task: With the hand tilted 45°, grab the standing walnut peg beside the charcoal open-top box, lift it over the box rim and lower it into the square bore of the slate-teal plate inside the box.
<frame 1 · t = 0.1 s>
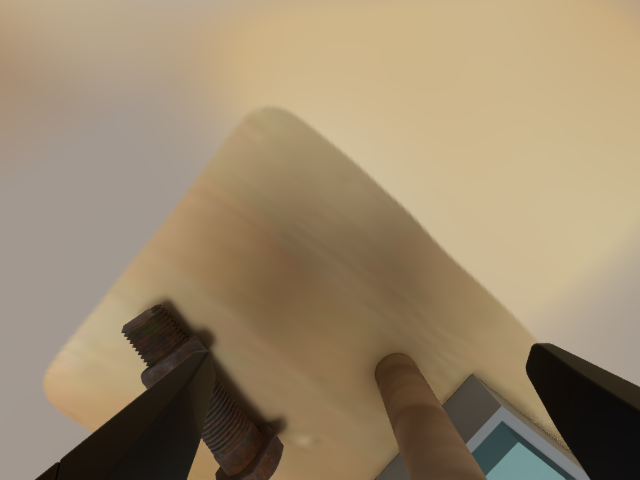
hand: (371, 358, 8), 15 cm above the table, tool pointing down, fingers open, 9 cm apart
peg: (396, 373, 25), on the table
bolt: (212, 374, 25), on the table
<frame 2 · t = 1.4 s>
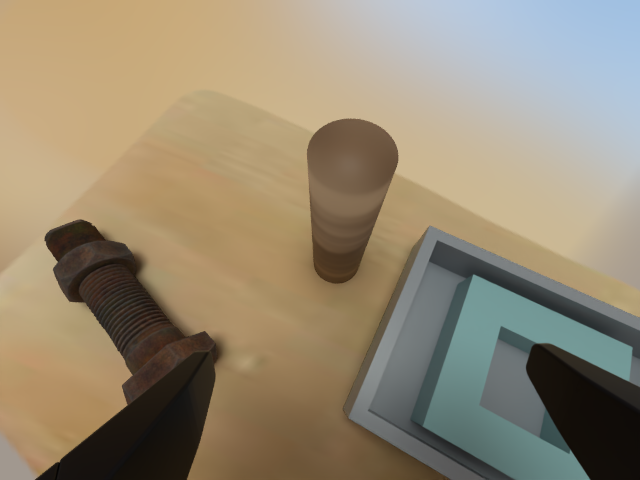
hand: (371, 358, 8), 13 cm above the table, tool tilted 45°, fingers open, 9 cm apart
peg: (336, 261, 24), on the table
bolt: (141, 306, 23), on the table
rim box: (503, 382, 20), on the table
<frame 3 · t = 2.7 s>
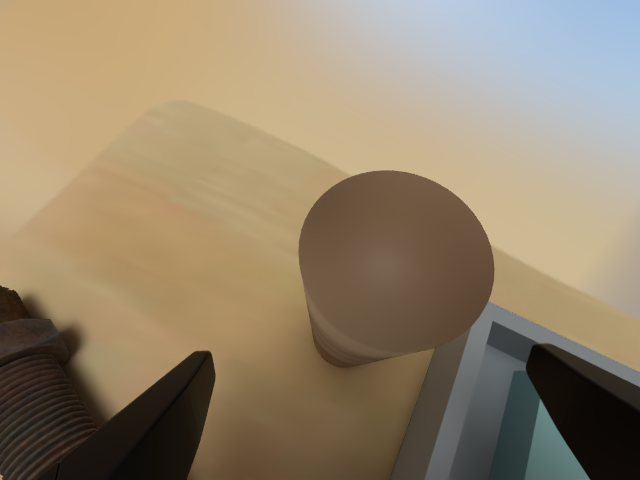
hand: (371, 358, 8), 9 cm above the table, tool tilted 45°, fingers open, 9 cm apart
peg: (344, 333, 17), on the table
bolt: (75, 404, 16), on the table
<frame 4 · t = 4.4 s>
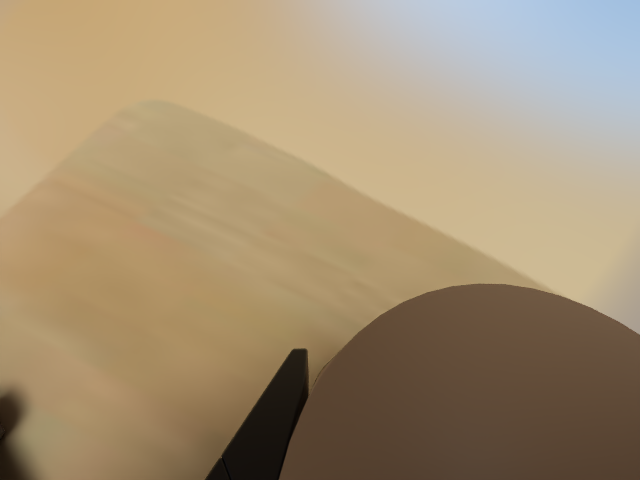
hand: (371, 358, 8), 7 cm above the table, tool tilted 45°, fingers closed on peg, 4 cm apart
peg: (351, 396, 14), on the table, touching gripper
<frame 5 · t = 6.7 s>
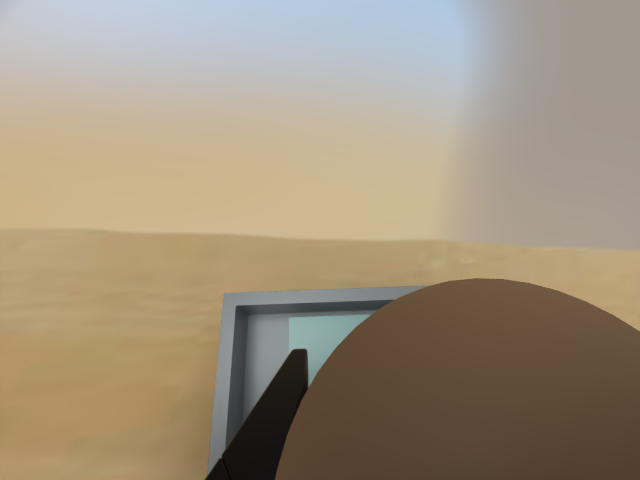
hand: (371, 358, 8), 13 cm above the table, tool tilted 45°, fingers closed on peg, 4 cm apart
peg: (351, 395, 14), point 7 cm above the table, touching gripper
rim box: (367, 397, 20), on the table
when the fingers open (8 cm above the table, at t = 9.0 s): peg stays where it is, resting on rim box.
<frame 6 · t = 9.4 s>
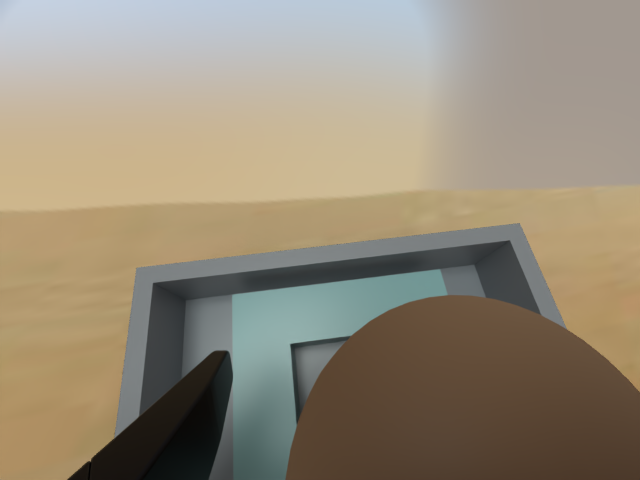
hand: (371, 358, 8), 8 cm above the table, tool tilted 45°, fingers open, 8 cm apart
peg: (350, 395, 14), point 1 cm above the table, touching rim box
rim box: (349, 394, 15), on the table
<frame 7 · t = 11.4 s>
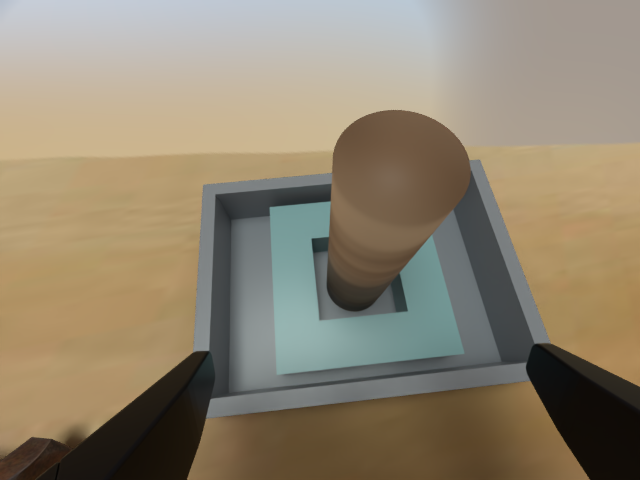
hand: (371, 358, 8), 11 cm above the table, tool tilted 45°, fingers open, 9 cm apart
peg: (353, 284, 20), point 1 cm above the table, touching rim box
rim box: (352, 285, 20), on the table
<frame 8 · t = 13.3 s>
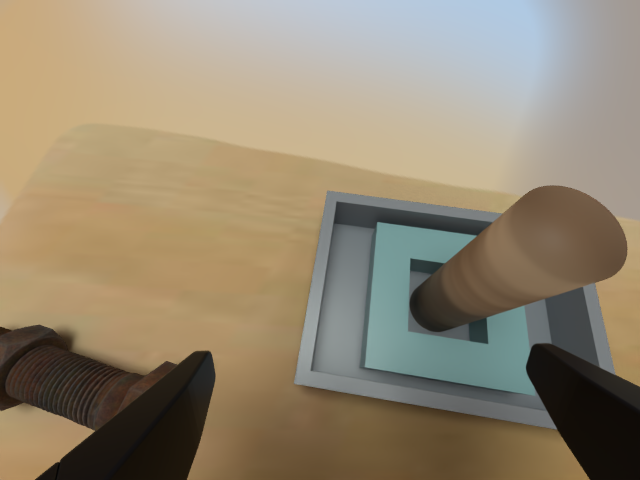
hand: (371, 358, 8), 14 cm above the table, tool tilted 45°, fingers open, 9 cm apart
peg: (433, 306, 22), point 1 cm above the table, touching rim box
bolt: (90, 377, 21), on the table
rim box: (431, 307, 22), on the table
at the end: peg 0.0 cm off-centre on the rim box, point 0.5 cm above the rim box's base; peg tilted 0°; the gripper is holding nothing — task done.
